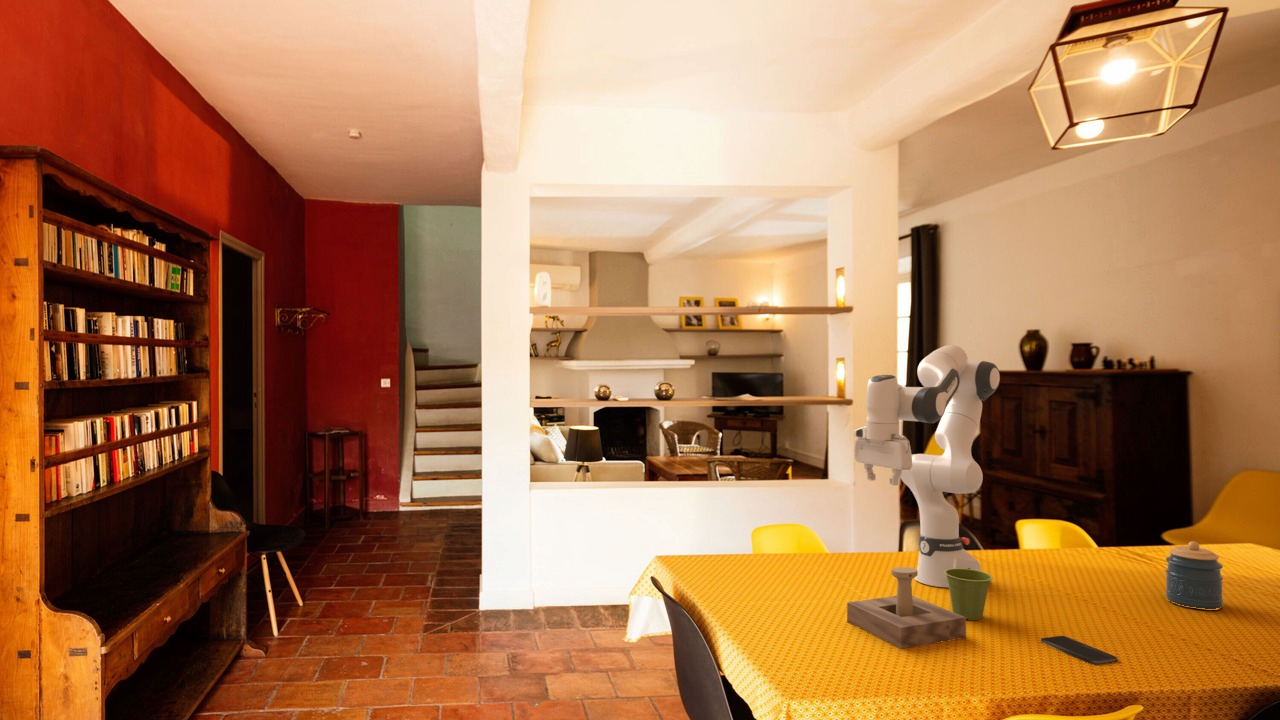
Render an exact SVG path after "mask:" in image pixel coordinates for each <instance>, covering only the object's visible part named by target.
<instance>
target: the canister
mask: <svg viewBox="0 0 1280 720" xmlns="http://www.w3.org/2000/svg"><path fill="white" fill-rule="evenodd" d="M1169 554H1170V555H1169V556H1167V557H1165V561H1166V562H1167V567H1166V569H1165V573H1166V574H1165V575H1166V579H1165V580H1166V581H1165V582H1166V583H1165V584H1166V588H1165V589H1166V590H1165V596H1166V600H1167V599H1168V600H1170V601H1172V602H1175V603H1177V604H1180V605H1184V606H1189V607H1196V608H1205V609H1216V608H1220V607H1222V608H1223V605H1224V599H1223V581H1224V577H1223V576H1222V573H1221V571H1222V569H1223V568H1224V566H1223V564H1222V563H1220V562H1219V561H1218V560H1219V558H1220V556H1219V555H1217V554H1216V553H1214V552H1213V551H1212V550H1210V549H1207V548H1202V547H1200V544H1199V543H1198V542H1197V541H1192V540H1191V541H1189V542H1188V544H1187V546H1184V545H1179V546H1175V547H1174V548H1171V549H1170V550H1169ZM1168 600H1167V601H1168Z"/></svg>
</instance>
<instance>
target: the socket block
mask: <svg viewBox="0 0 1280 720" xmlns="http://www.w3.org/2000/svg"><path fill="white" fill-rule="evenodd" d="M896 601H897V595H893V596H885V597H879V598H878V597H877V598H871V599H865V600H864V599H863V600H855V601H849V602H848V601H847V602H846V603H847V605H846V609H847V610H846V611H847V612H846V616H847V621H846V622H847V623H849V624H850V625H853V626H854V625H855V627H856V626H858V627H860V628H861V629H860V628H859V629H860V630H862V629H863V631H864V630H865V631H864V632H866V631H867V632H866V633H868V632H869V633H868V634H870V633H871V634H870V635H872V636H874V635H875V636H874V637H876V636H877V637H876V638H878V637H879V638H878V639H880V638H881V639H880V640H882V639H883V640H882V641H884V640H885V641H884V642H886V641H887V642H886V643H888V642H889V643H888V644H890V643H891V644H890V645H892V644H893V645H892V646H894V645H895V646H894V647H896V646H897V647H896V648H899V649H900V650H902V648H904V649H909V648H908V647H910V648H914V647H915V646H916V647H921V646H926V645H927V646H928V645H933V644H938V643H937V642H939V643H942V642H941V641H945V642H949V641H948V640H951V641H954V640H953V639H957V640H959V639H958V638H962V639H965V638H964V637H966V638H967V619H966V617H964V616H961V615H959V614H956V613H954V612H953V611H951V610H948V609H946V608H945V607H944V608H943V607H941V606H938V605H936V604H933V603H931V602H929V601H926V600H924V599H921V598H918V597H916V596H914V595H912V602H913V616H907V617H900V616H898V615H896V614H897V613H896ZM858 627H857V628H858Z"/></svg>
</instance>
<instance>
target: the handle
mask: <svg viewBox="0 0 1280 720" xmlns="http://www.w3.org/2000/svg"><path fill="white" fill-rule="evenodd" d="M917 575H918V570H917V568H913V567H906V566H903V567H893V568H891V576H893V577H894V578H896V580H897V585H896V586H897V587H896V588H897V589H896V596H897V601H896V613H897V614H896V615H898V616H900V617H907V616H913V602H912V596H913V593H912V592H913V589H912V581H913V579H915V577H916V576H917Z"/></svg>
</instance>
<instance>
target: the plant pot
mask: <svg viewBox="0 0 1280 720" xmlns="http://www.w3.org/2000/svg"><path fill="white" fill-rule="evenodd" d="M944 573H945V574H946V576H947V582H948V584H949V595H950V596H949V597H950V604H951V610H952V611H951V612H954V613H956V614H959V615H961V616H964V617H966V620H967V619H968V620H967V621H979V620H981V619H982V618H983V616H984V612H985V611H984V610H985V606H986V600H987V595H988V590H989V589H990V585H991V581H992V580H993V578H994V577H993V576H992V575H991V574H990V573H987V572H985V571H977V570H972V569H964V568H952V569H947V570H945V571H944ZM978 619H979V620H978Z"/></svg>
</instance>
